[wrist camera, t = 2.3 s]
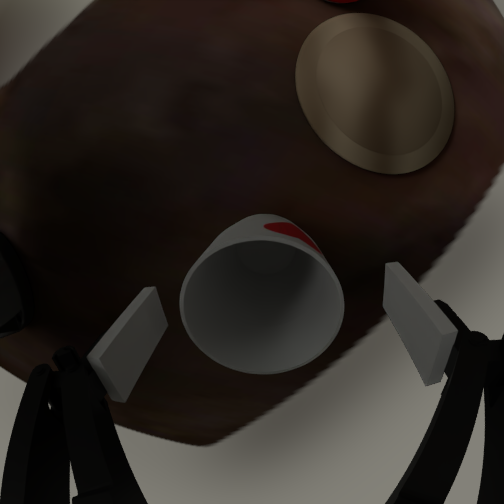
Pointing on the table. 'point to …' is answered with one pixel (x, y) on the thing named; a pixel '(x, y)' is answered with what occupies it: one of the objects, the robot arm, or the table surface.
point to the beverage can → (341, 1)
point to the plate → (374, 93)
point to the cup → (262, 297)
